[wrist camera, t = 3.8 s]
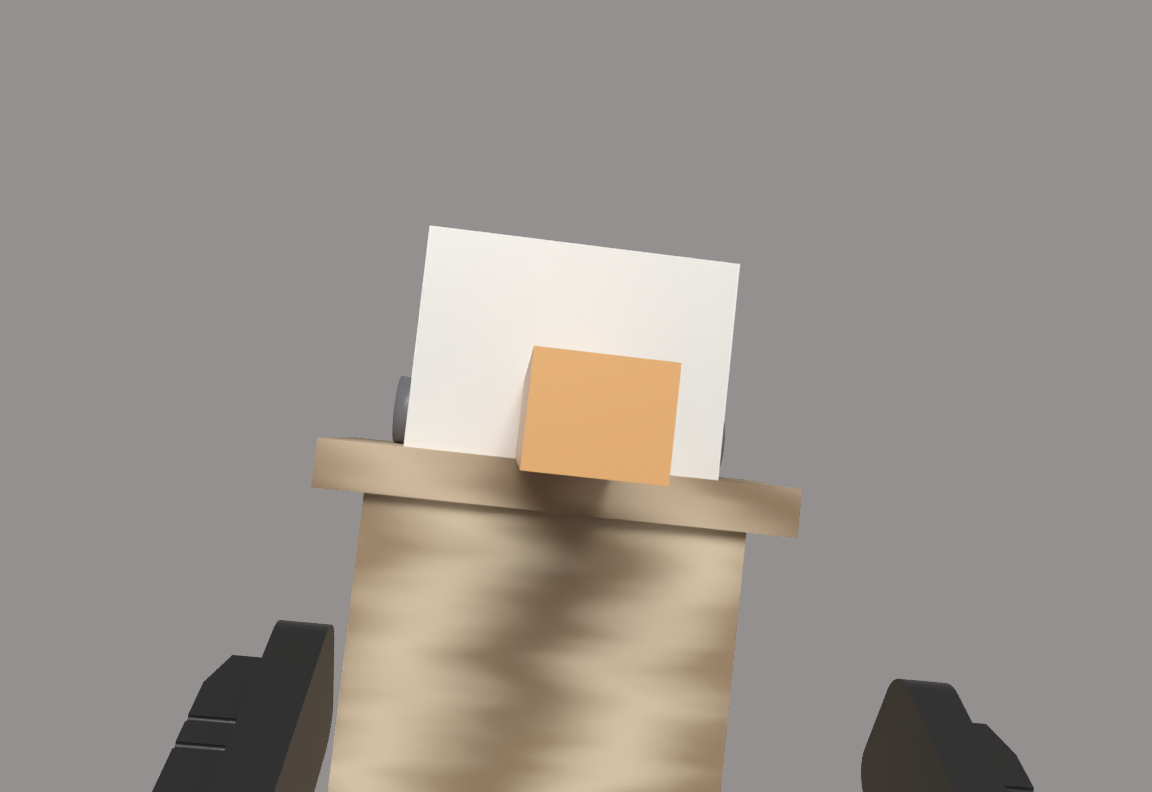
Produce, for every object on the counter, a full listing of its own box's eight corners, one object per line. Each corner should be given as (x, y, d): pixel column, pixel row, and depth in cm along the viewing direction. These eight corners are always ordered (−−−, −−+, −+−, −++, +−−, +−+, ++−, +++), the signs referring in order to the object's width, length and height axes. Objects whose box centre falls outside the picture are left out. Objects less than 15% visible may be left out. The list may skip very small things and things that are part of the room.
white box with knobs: (706, 475, 35) (724, 293, 35) (876, 508, 19) (907, 172, 19) (398, 442, 34) (420, 256, 35) (300, 447, 18) (344, 96, 18)
